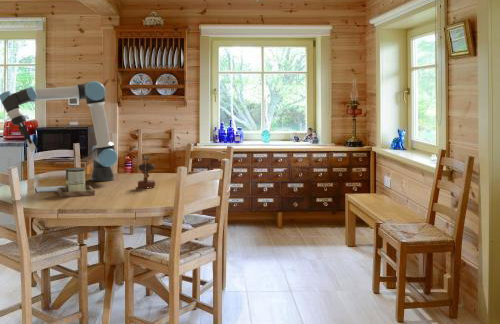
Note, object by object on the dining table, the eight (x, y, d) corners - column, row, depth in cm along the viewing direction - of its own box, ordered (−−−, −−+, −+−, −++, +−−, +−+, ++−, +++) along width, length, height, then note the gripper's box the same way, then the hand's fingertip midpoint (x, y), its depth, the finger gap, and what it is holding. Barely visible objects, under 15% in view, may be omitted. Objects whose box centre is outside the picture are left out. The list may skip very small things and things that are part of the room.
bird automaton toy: (157, 188, 308) (154, 155, 305) (138, 190, 305) (135, 157, 302) (154, 184, 322) (151, 153, 320) (136, 186, 319) (133, 154, 317)
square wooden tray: (90, 189, 301) (90, 185, 300) (94, 194, 284) (94, 190, 284) (57, 191, 293) (57, 187, 293) (60, 197, 277) (60, 192, 277)
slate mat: (64, 186, 310) (64, 185, 310) (66, 190, 296) (66, 189, 296) (35, 188, 304) (35, 187, 304) (36, 192, 289) (36, 191, 289)
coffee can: (62, 193, 287) (61, 168, 286) (77, 191, 296) (77, 167, 294) (74, 195, 282) (73, 170, 280) (89, 193, 290) (88, 168, 288)
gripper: (11, 122, 309) (27, 154, 311) (9, 116, 286) (27, 150, 288) (23, 118, 312) (39, 149, 314) (23, 111, 289) (40, 145, 291)
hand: (33, 150), depth 301 cm, fingers open, 13 cm apart
